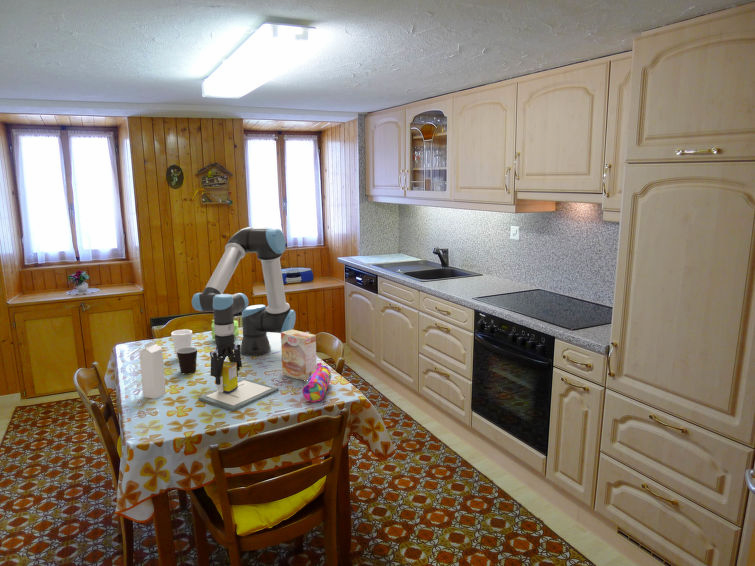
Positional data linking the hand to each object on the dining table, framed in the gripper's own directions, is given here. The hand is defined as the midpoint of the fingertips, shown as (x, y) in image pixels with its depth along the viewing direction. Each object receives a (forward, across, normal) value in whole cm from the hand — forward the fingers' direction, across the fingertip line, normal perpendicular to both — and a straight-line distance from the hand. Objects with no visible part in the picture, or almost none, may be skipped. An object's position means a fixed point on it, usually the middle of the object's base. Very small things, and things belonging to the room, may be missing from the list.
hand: (227, 388), depth 212 cm
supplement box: (+1, 0, 0) cm, 1 cm away
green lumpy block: (+2, +50, +60) cm, 78 cm away
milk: (+2, -17, +23) cm, 29 cm away
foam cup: (+2, +18, +52) cm, 55 cm away
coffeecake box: (+2, +30, -11) cm, 33 cm away
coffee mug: (+2, +9, +35) cm, 36 cm away
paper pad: (+2, +2, -5) cm, 6 cm away
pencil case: (+2, +21, -30) cm, 36 cm away
